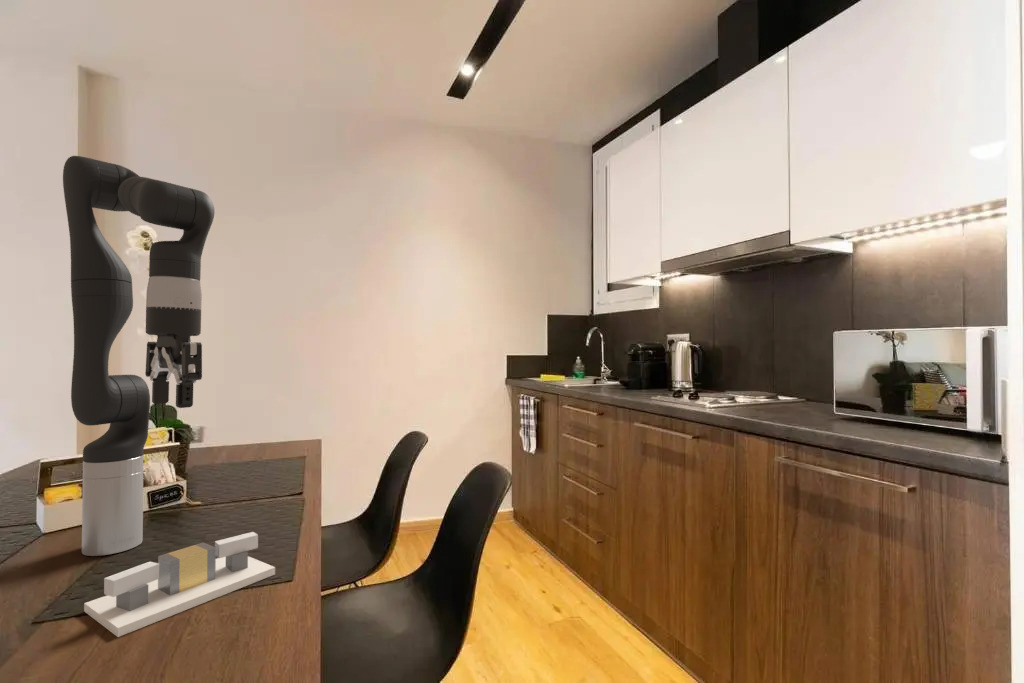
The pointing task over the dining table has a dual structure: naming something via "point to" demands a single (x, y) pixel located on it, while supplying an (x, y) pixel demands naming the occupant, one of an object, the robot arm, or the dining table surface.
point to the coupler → (186, 568)
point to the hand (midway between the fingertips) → (171, 405)
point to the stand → (143, 603)
